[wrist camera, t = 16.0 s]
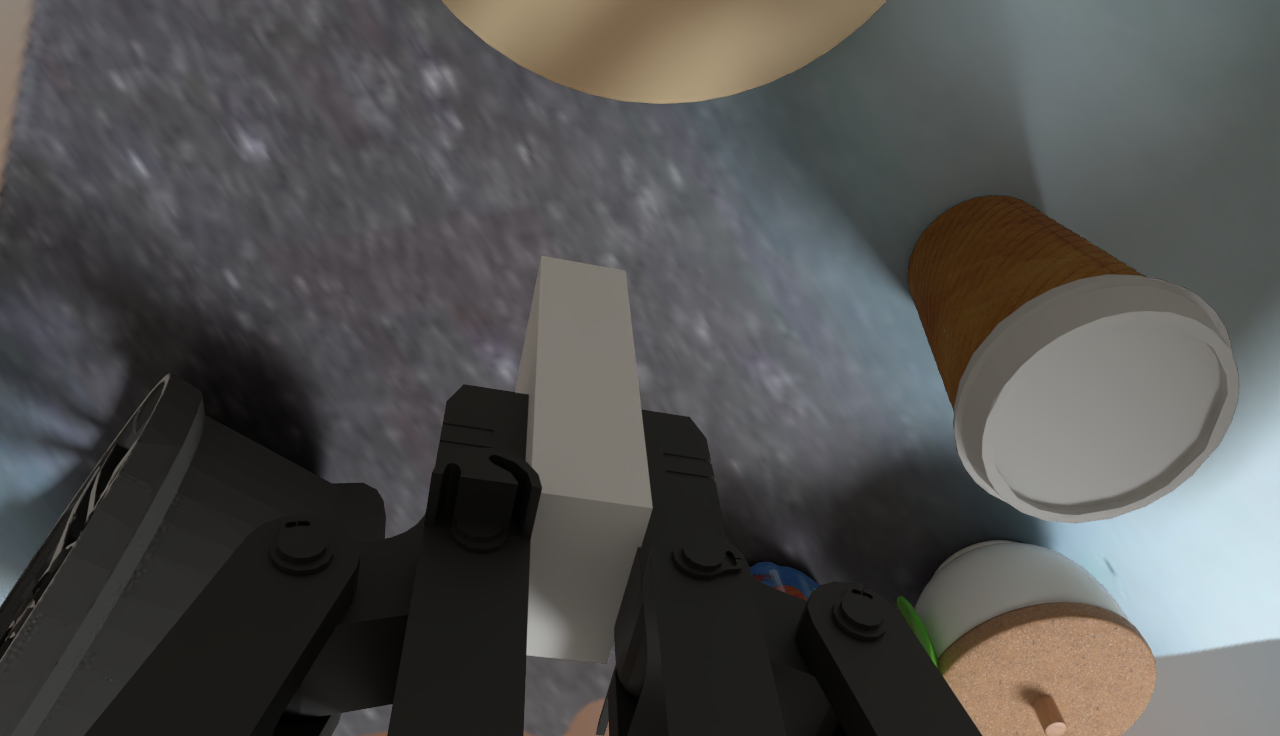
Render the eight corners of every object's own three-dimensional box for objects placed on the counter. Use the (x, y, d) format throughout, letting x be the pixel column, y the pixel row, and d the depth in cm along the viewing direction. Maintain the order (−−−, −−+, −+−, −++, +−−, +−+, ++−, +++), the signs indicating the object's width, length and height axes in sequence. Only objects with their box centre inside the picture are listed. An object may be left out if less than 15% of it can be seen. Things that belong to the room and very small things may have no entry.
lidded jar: (1017, 672, 58) (1087, 821, 50) (850, 630, 56) (895, 780, 48) (1128, 534, 53) (1225, 676, 45) (949, 481, 51) (1018, 621, 43)
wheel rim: (223, 287, 42) (9, 668, 25) (412, 400, 46) (337, 800, 29) (12, 580, 49) (-265, 1030, 32) (191, 658, 53) (26, 1099, 36)
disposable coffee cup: (986, 389, 48) (1106, 568, 38) (825, 300, 45) (909, 470, 34) (1135, 225, 44) (1314, 376, 34) (971, 114, 41) (1113, 245, 30)
